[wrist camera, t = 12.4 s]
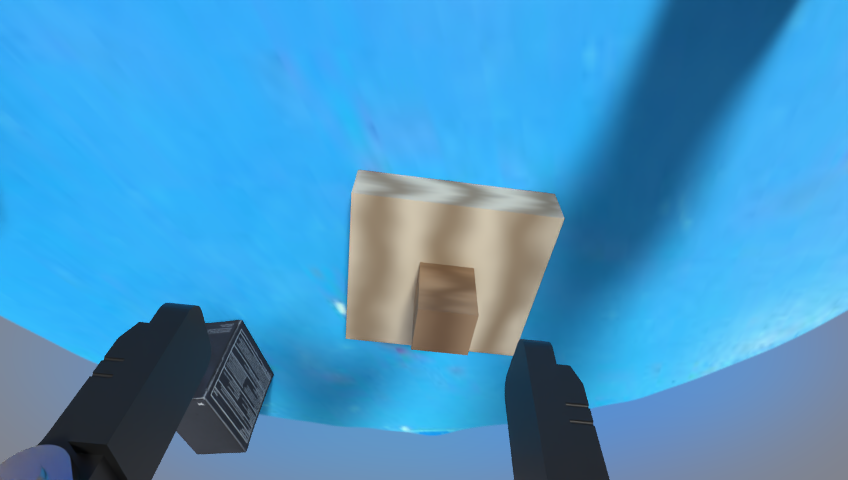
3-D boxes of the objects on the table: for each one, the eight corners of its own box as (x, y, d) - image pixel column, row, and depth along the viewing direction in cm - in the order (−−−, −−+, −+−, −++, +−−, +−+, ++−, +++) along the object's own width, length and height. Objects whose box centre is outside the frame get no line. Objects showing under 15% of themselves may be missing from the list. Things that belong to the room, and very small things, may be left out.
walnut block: (474, 268, 42) (478, 315, 38) (464, 306, 45) (467, 355, 41) (420, 262, 42) (417, 309, 37) (413, 301, 45) (411, 349, 40)
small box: (190, 323, 54) (144, 402, 45) (242, 317, 53) (205, 396, 45) (228, 379, 60) (194, 457, 52) (275, 374, 59) (248, 453, 51)
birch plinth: (554, 194, 42) (564, 218, 39) (508, 327, 53) (513, 355, 50) (358, 169, 41) (351, 192, 38) (351, 311, 52) (345, 338, 49)
